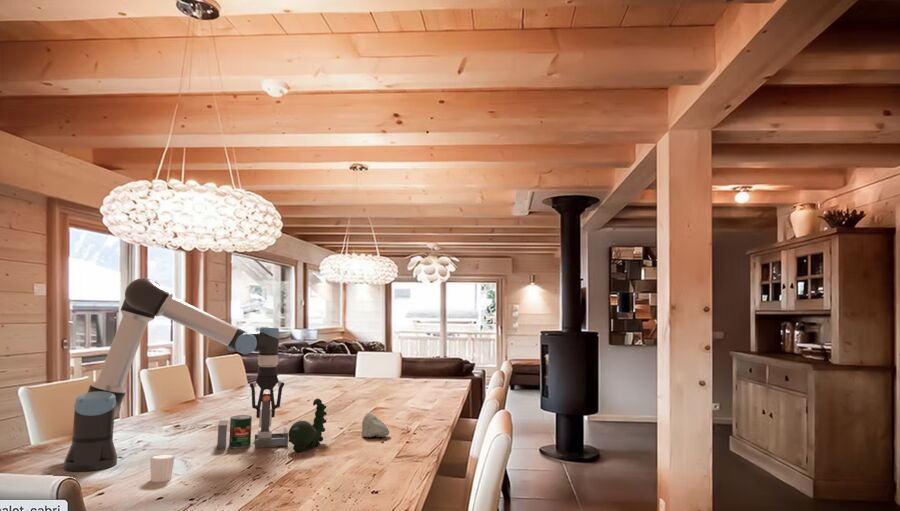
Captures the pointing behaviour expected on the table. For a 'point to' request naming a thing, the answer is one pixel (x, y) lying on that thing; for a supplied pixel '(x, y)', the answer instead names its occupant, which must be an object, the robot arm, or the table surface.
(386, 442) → the table surface
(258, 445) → the press frame
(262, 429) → the ball-tipped square rod
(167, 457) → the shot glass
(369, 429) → the decorative stone
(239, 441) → the canned tomato
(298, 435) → the toy figurine
